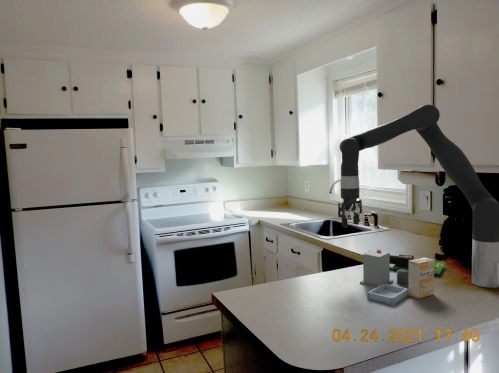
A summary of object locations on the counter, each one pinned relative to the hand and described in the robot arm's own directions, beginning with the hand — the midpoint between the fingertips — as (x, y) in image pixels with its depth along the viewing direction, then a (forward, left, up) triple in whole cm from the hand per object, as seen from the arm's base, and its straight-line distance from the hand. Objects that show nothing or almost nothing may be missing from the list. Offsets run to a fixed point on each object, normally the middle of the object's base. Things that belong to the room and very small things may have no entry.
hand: (350, 225), depth 165 cm
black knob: (-19, -6, -22) cm, 30 cm away
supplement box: (-30, +2, -22) cm, 37 cm away
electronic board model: (-11, -26, -22) cm, 36 cm away
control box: (-11, 0, -22) cm, 25 cm away
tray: (-22, +12, -22) cm, 33 cm away
